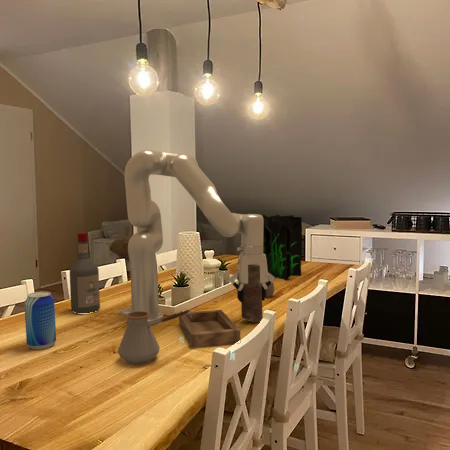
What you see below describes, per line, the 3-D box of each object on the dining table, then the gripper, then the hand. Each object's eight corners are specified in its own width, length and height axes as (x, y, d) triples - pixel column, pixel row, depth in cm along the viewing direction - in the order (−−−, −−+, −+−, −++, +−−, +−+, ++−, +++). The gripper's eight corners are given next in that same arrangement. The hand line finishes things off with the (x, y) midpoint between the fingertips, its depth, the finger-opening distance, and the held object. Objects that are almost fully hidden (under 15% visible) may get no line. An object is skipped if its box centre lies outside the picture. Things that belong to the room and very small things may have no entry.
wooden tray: (191, 348, 144) (191, 334, 143) (178, 324, 167) (178, 313, 167) (240, 343, 148) (240, 330, 147) (221, 320, 171) (221, 309, 170)
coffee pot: (110, 365, 131) (108, 311, 130) (129, 350, 143) (127, 300, 141) (185, 372, 126) (184, 316, 125) (198, 356, 137) (197, 304, 136)
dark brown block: (237, 321, 168) (238, 263, 166) (244, 315, 174) (245, 260, 172) (258, 323, 165) (259, 265, 163) (265, 318, 171) (266, 262, 169)
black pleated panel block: (308, 273, 253) (309, 215, 250) (283, 284, 228) (283, 220, 225) (260, 268, 268) (259, 213, 265) (231, 277, 243) (231, 218, 240)
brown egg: (273, 299, 200) (273, 278, 199) (256, 298, 202) (256, 277, 201) (275, 295, 207) (275, 274, 206) (259, 294, 208) (259, 274, 207)
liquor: (102, 310, 185) (99, 232, 182) (81, 316, 179) (77, 235, 176) (89, 306, 192) (86, 231, 189) (68, 311, 185) (65, 233, 182)
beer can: (38, 352, 142) (36, 298, 140) (20, 347, 146) (18, 295, 145) (62, 344, 149) (59, 292, 147) (44, 339, 153) (41, 289, 152)
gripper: (230, 252, 161) (230, 304, 163) (279, 250, 166) (279, 301, 167) (225, 249, 168) (224, 299, 170) (272, 247, 173) (271, 296, 175)
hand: (251, 300), depth 169 cm, fingers closed on dark brown block, 7 cm apart
